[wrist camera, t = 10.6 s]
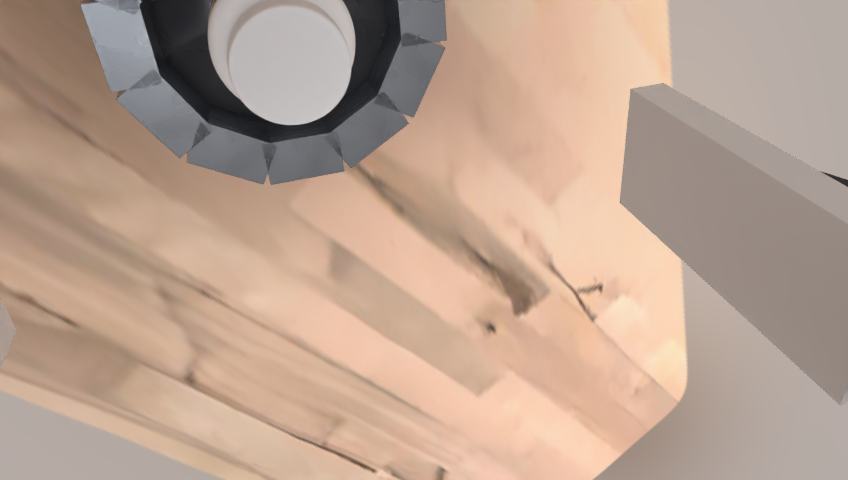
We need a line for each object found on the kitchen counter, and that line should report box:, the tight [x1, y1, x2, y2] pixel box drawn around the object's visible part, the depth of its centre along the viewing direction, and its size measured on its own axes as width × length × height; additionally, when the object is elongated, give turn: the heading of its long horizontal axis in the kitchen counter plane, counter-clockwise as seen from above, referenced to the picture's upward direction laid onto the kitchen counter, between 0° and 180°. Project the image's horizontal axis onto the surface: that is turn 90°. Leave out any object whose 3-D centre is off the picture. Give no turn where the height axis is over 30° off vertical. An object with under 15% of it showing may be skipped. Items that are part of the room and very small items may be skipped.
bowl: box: [80, 0, 447, 185], centre depth 28 cm, size 15×15×4 cm
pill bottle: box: [208, 0, 355, 125], centre depth 25 cm, size 5×5×9 cm
